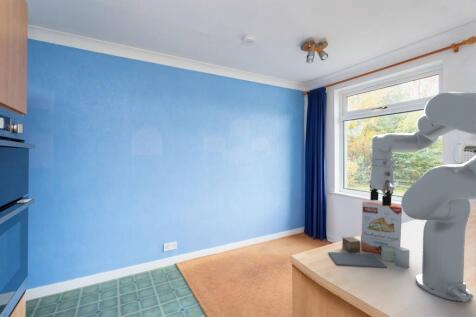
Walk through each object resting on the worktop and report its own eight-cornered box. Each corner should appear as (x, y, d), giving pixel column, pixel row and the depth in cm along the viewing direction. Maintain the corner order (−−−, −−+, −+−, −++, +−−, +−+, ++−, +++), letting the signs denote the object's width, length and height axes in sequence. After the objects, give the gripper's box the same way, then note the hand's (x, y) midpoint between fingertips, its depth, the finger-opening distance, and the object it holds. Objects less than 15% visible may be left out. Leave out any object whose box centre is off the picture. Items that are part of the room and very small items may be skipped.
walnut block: (360, 252, 95) (360, 241, 95) (349, 253, 94) (349, 241, 94) (352, 247, 100) (352, 236, 100) (342, 248, 99) (342, 237, 99)
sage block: (394, 262, 86) (394, 251, 86) (382, 259, 88) (382, 249, 88) (392, 257, 90) (392, 248, 90) (381, 255, 92) (381, 246, 92)
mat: (386, 267, 82) (386, 266, 82) (336, 265, 83) (336, 263, 83) (373, 255, 92) (373, 254, 92) (328, 253, 93) (328, 251, 93)
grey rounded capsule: (412, 268, 82) (412, 252, 82) (399, 267, 82) (399, 251, 82) (404, 262, 86) (404, 247, 86) (392, 261, 86) (392, 246, 86)
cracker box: (361, 250, 96) (362, 203, 96) (361, 245, 102) (362, 200, 101) (400, 258, 90) (402, 207, 89) (398, 252, 95) (399, 204, 95)
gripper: (403, 165, 86) (402, 208, 87) (379, 162, 103) (378, 198, 104) (383, 164, 87) (381, 207, 87) (362, 162, 104) (361, 198, 105)
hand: (380, 202), depth 96 cm, fingers open, 9 cm apart
